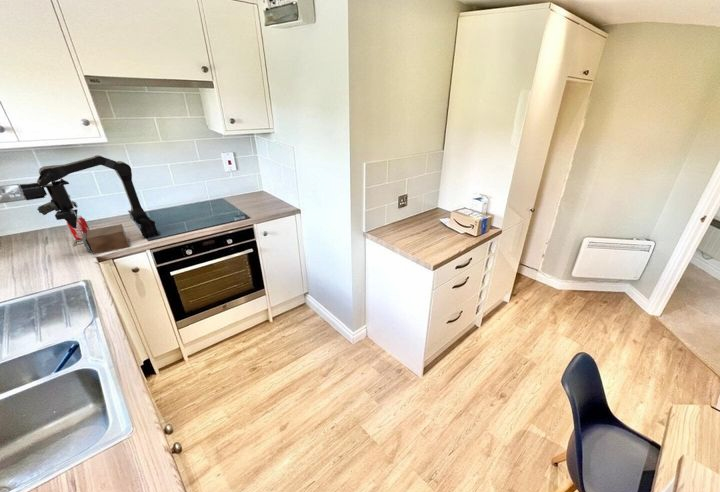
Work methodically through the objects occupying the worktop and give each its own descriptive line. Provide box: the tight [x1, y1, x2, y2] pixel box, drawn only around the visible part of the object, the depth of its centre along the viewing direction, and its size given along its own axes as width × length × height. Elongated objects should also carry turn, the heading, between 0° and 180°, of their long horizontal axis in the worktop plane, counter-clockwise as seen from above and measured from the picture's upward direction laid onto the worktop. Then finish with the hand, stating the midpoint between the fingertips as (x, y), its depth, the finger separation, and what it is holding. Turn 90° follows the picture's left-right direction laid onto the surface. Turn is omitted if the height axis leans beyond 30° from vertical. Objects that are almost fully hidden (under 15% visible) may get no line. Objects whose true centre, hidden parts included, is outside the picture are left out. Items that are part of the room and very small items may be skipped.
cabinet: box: [86, 223, 130, 255], centre depth 161 cm, size 14×12×9 cm
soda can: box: [66, 215, 91, 241], centre depth 167 cm, size 7×7×12 cm
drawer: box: [72, 233, 93, 254], centre depth 158 cm, size 17×10×7 cm, turn 130°
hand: (74, 227), depth 151 cm, fingers closed
